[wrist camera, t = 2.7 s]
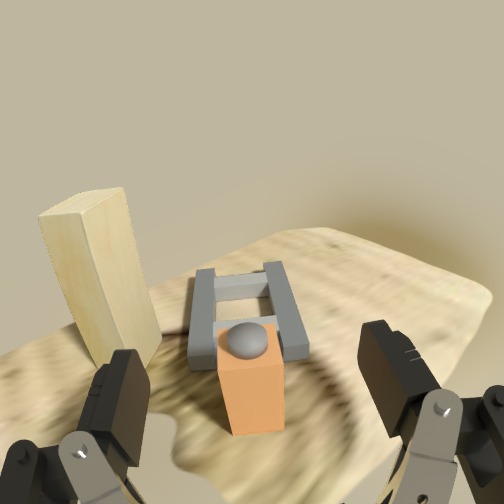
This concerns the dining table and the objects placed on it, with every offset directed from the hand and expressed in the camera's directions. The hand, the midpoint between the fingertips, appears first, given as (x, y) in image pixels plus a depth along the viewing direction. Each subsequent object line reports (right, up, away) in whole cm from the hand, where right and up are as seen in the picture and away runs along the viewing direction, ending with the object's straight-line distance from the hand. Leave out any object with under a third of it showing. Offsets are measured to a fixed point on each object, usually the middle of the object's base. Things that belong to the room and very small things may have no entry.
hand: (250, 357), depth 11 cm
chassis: (-1, -5, +34) cm, 35 cm away
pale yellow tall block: (-16, -10, +28) cm, 34 cm away
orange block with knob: (0, -13, +19) cm, 23 cm away
